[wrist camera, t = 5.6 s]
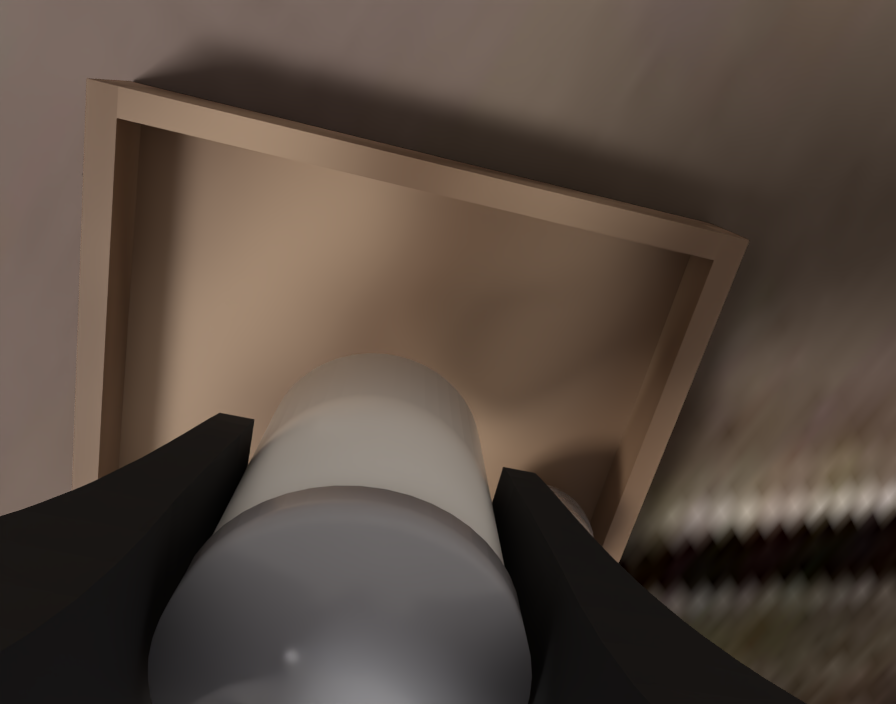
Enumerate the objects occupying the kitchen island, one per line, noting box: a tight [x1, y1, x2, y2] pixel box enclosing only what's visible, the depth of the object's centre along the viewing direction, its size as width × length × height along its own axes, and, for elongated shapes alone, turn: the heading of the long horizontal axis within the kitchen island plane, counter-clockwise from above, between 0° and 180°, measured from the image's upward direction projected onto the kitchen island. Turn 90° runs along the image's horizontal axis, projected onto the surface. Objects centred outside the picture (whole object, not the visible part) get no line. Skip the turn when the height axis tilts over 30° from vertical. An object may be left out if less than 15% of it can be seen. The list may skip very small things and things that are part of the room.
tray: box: [72, 78, 750, 563], centre depth 16 cm, size 14×11×2 cm
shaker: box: [148, 353, 532, 704], centre depth 11 cm, size 5×5×6 cm
